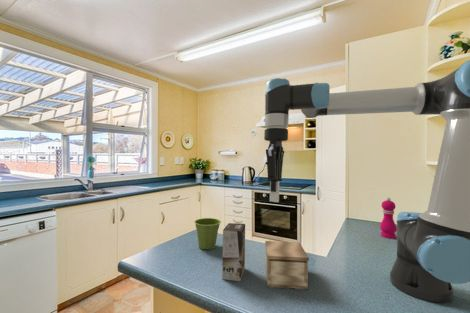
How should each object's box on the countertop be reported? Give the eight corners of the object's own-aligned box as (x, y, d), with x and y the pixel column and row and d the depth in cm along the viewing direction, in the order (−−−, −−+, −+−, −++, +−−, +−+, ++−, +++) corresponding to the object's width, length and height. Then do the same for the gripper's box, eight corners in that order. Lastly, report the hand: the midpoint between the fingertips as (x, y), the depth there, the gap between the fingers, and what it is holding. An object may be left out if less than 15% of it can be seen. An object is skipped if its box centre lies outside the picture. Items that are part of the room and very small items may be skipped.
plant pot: (214, 253, 94) (214, 226, 94) (188, 249, 98) (189, 223, 98) (224, 243, 105) (224, 219, 105) (201, 240, 109) (201, 216, 109)
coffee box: (241, 281, 73) (241, 231, 73) (221, 279, 74) (222, 229, 74) (245, 268, 82) (245, 223, 82) (228, 266, 83) (228, 222, 83)
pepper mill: (380, 233, 122) (380, 195, 122) (396, 236, 118) (397, 197, 118) (379, 237, 116) (379, 197, 116) (396, 240, 112) (397, 199, 112)
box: (298, 267, 83) (299, 245, 83) (307, 289, 69) (307, 263, 69) (265, 265, 84) (265, 243, 84) (267, 287, 70) (267, 261, 70)
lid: (299, 245, 83) (299, 242, 83) (308, 261, 69) (308, 257, 69) (265, 243, 84) (265, 240, 84) (267, 259, 70) (267, 255, 70)
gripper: (271, 131, 81) (269, 197, 81) (258, 126, 70) (256, 203, 70) (292, 130, 78) (290, 199, 78) (282, 125, 66) (280, 206, 66)
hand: (274, 201), depth 74 cm, fingers closed
